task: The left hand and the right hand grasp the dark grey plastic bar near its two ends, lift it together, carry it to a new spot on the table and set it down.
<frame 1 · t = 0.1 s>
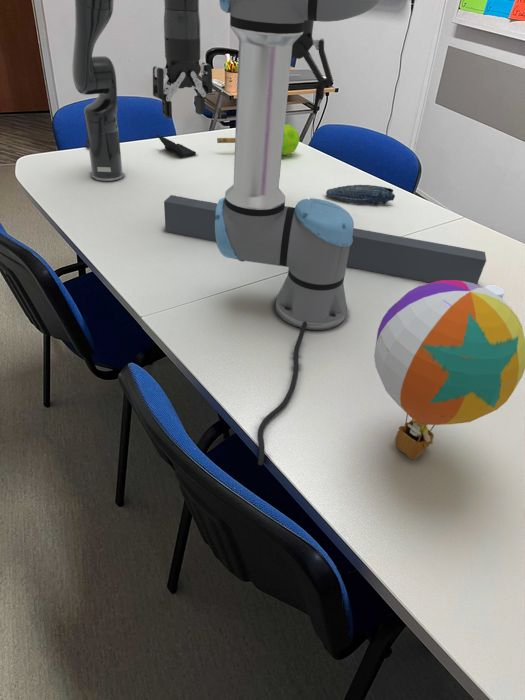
left hand: (183, 115, 119), 29 cm above the table, tool pointing down, fingers open, 8 cm apart
right hand: (288, 109, 135), 28 cm above the table, tool pointing down, fingers open, 13 cm apart
toy: (409, 450, 84), on the table
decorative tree: (258, 154, 190), on the table
pill bottle: (479, 324, 113), on the table
bar: (314, 256, 132), on the table
handheld gaming console: (176, 153, 185), on the table
fish model: (358, 200, 163), on the table
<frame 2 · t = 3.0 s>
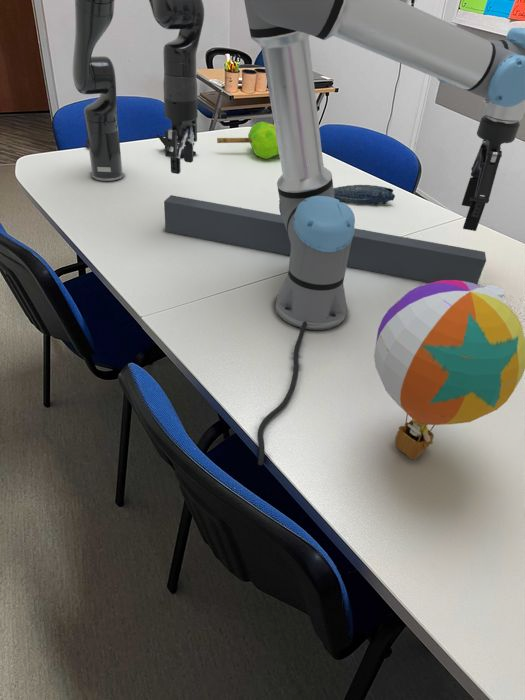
left hand: (182, 167, 127), 17 cm above the table, tool pointing down, fingers open, 8 cm apart
right hand: (468, 217, 118), 16 cm above the table, tool pointing down, fingers open, 13 cm apart
nothing on the table moved.
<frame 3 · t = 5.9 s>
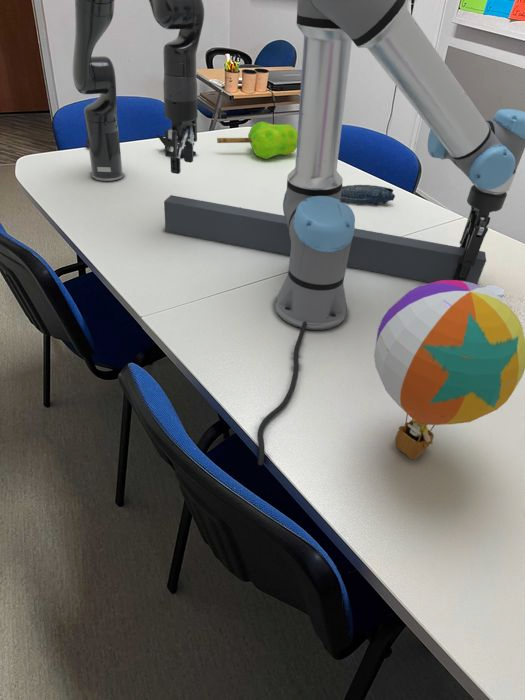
left hand: (182, 167, 127), 17 cm above the table, tool pointing down, fingers open, 8 cm apart
right hand: (456, 281, 127), 1 cm above the table, tool pointing down, fingers closed on bar, 4 cm apart
bar: (314, 256, 132), on the table, touching right hand
everything else where it was.
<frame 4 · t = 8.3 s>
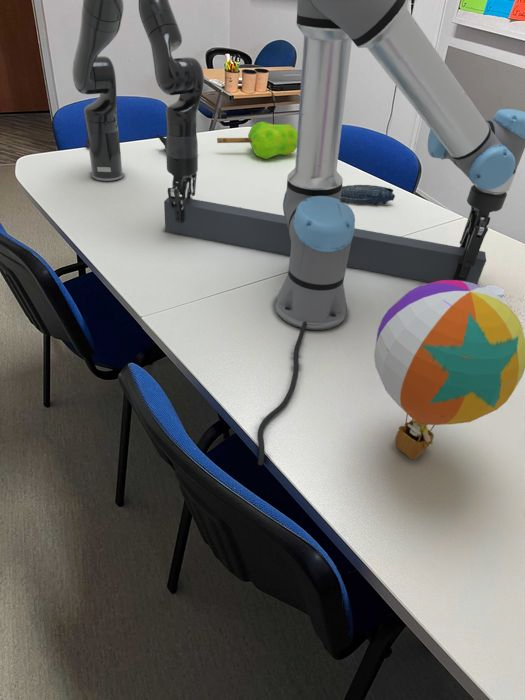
left hand: (183, 218, 135), 4 cm above the table, tool pointing down, fingers closed on bar, 4 cm apart
right hand: (456, 281, 127), 1 cm above the table, tool pointing down, fingers closed on bar, 4 cm apart
bar: (314, 256, 132), on the table, touching right hand, left hand
everything else where it was.
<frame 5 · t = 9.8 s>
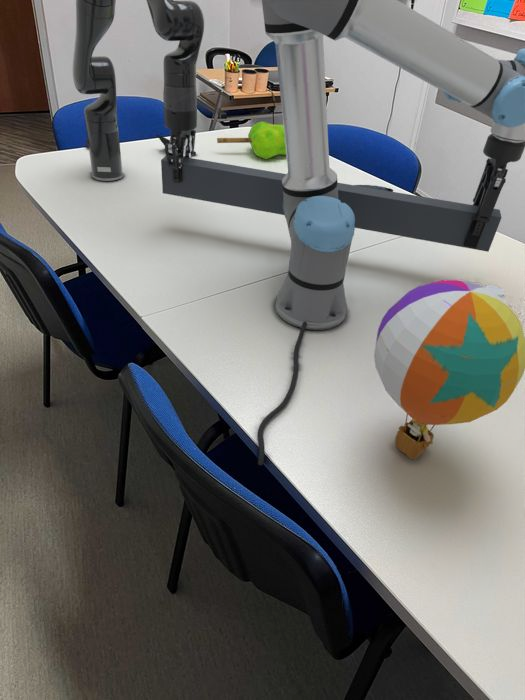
left hand: (181, 178, 129), 14 cm above the table, tool pointing down, fingers closed on bar, 4 cm apart
right hand: (469, 241, 120), 11 cm above the table, tool pointing down, fingers closed on bar, 5 cm apart
bar: (319, 217, 126), point 10 cm above the table, touching right hand, left hand
everything else where it was.
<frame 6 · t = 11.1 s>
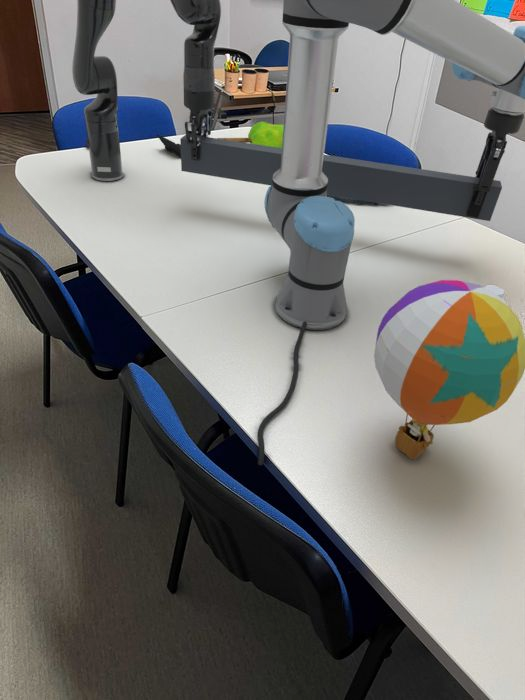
left hand: (199, 156, 137), 16 cm above the table, tool pointing down, fingers closed on bar, 4 cm apart
right hand: (471, 211, 127), 14 cm above the table, tool pointing down, fingers closed on bar, 4 cm apart
bar: (329, 191, 133), point 13 cm above the table, touching right hand, left hand
everything else where it was.
when the right hand's fingers open (2 cm above the table, at t = 13.7 s): bar drops 1 cm, on the table.
when the left hand's fingers open (5 cm above the table, at t = 13.9 s): bar stays where it is, on the table.
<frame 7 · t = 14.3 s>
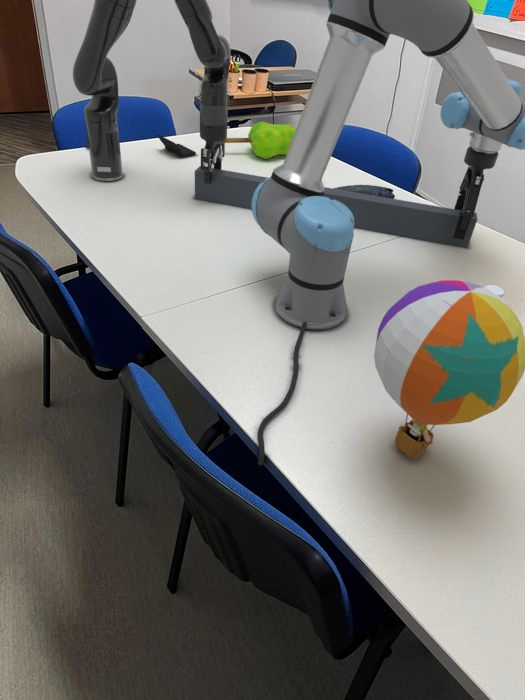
left hand: (212, 178, 152), 6 cm above the table, tool pointing down, fingers open, 8 cm apart
right hand: (457, 228, 142), 4 cm above the table, tool pointing down, fingers open, 13 cm apart
bar: (326, 219, 150), on the table
everything else where it was.
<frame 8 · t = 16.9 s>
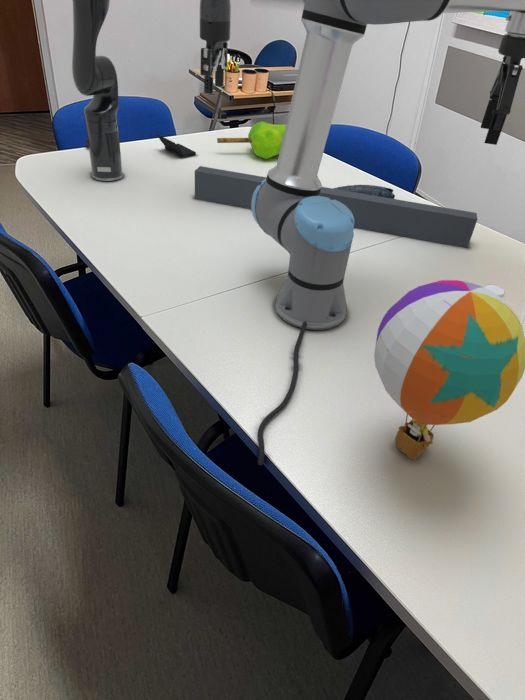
left hand: (214, 89, 137), 30 cm above the table, tool pointing down, fingers open, 8 cm apart
right hand: (488, 135, 127), 29 cm above the table, tool pointing down, fingers open, 13 cm apart
nothing on the table moved.
at the end: bar inside the target area (0.4 cm from its centre), on the table; bar tilted 0°; bar never tilted more than 2° during the clip; both hands held the bar at the same time; the left hand is holding nothing; the right hand is holding nothing; bar at rest at the end (0.0 cm/s) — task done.
